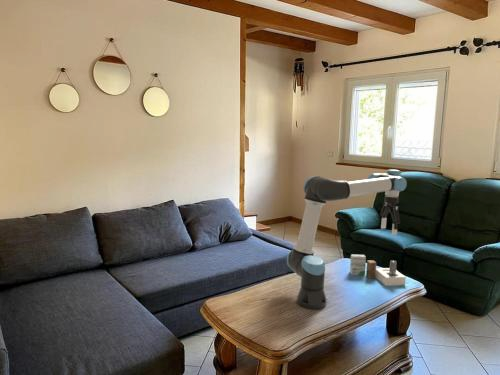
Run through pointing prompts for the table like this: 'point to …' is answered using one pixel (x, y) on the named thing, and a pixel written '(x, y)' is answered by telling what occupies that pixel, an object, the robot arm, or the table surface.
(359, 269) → the ink box
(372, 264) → the walnut square bar
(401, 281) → the socket block
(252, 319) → the table surface
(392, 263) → the round peg
